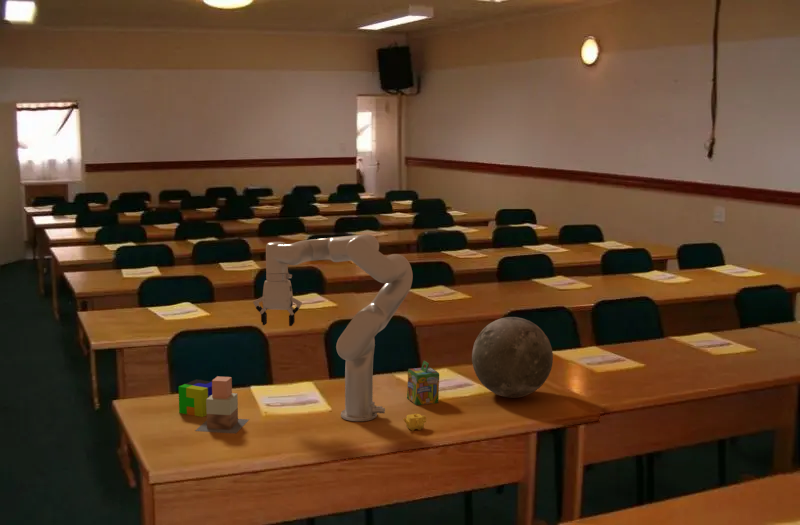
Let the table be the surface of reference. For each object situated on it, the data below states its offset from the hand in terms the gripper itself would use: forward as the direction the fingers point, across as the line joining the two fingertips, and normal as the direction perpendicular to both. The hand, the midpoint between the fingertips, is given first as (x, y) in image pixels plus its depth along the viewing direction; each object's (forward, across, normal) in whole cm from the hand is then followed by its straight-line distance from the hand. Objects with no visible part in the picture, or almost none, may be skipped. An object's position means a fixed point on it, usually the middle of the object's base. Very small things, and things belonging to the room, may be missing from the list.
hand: (277, 324), depth 312 cm
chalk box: (+31, -50, -16) cm, 61 cm away
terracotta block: (+20, +13, +23) cm, 33 cm away
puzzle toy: (+30, +26, +10) cm, 41 cm away
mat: (+30, +13, +23) cm, 40 cm away
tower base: (+30, +13, +23) cm, 40 cm away
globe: (+31, -82, -28) cm, 92 cm away
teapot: (+31, -51, +15) cm, 61 cm away
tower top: (+25, +13, +23) cm, 36 cm away
